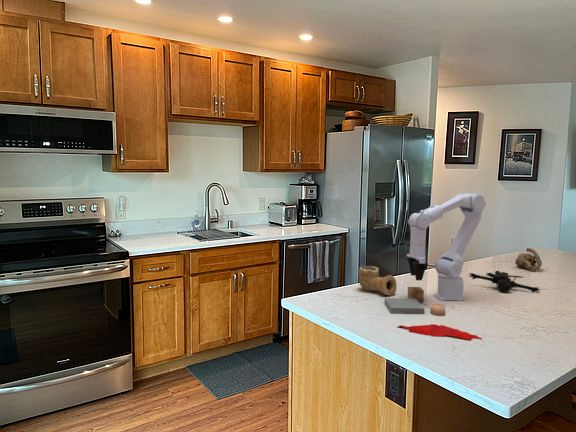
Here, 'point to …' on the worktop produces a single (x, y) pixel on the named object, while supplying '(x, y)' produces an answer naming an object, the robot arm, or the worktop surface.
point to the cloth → (439, 331)
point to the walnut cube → (416, 294)
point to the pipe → (376, 281)
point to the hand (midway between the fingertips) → (416, 277)
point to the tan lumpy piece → (529, 260)
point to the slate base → (404, 306)
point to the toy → (504, 281)
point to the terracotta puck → (437, 309)
